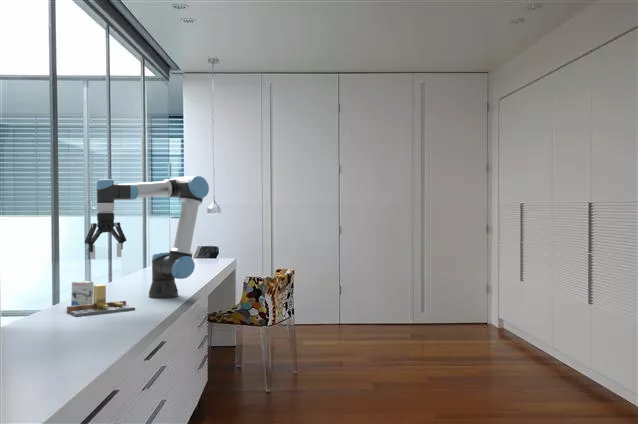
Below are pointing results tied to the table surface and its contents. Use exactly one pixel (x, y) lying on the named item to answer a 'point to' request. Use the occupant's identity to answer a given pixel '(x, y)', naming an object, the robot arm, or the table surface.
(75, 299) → the ink box
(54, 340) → the table surface
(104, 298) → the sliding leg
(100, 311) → the gray rectangular panel
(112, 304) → the beam
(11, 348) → the table surface
